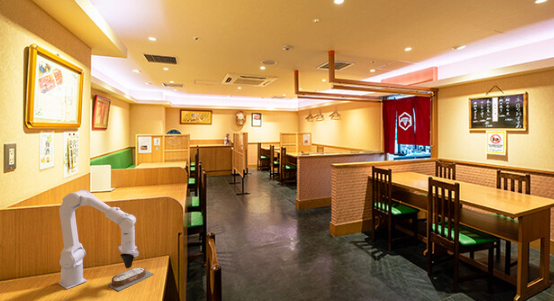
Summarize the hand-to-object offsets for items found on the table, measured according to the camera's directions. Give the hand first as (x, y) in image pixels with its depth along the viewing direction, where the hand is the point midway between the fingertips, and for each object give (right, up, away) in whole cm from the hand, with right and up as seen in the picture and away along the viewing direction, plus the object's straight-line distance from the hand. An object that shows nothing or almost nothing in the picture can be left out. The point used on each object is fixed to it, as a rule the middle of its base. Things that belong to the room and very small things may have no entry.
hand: (128, 267), depth 124 cm
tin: (-2, -3, +1) cm, 4 cm away
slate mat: (+3, -6, -1) cm, 6 cm away
